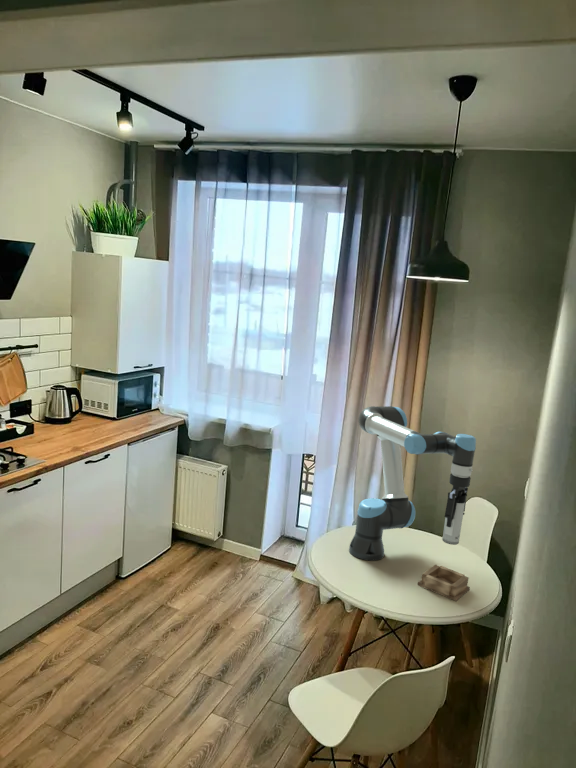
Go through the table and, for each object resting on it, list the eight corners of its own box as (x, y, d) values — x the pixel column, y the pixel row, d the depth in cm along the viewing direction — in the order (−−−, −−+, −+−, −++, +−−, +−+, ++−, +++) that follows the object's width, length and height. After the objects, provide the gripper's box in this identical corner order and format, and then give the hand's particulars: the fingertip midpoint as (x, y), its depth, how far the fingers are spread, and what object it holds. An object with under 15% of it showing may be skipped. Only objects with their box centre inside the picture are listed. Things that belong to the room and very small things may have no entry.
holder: (417, 585, 224) (418, 573, 223) (432, 574, 235) (434, 562, 234) (455, 601, 214) (457, 589, 213) (470, 589, 225) (472, 577, 224)
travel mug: (460, 546, 218) (468, 496, 215) (442, 543, 219) (450, 493, 217) (458, 540, 224) (466, 491, 221) (441, 537, 225) (448, 488, 223)
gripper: (459, 482, 208) (451, 541, 211) (479, 473, 223) (471, 529, 226) (440, 476, 213) (432, 535, 216) (461, 468, 228) (453, 523, 231)
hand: (452, 532), depth 221 cm, fingers closed on travel mug, 6 cm apart
